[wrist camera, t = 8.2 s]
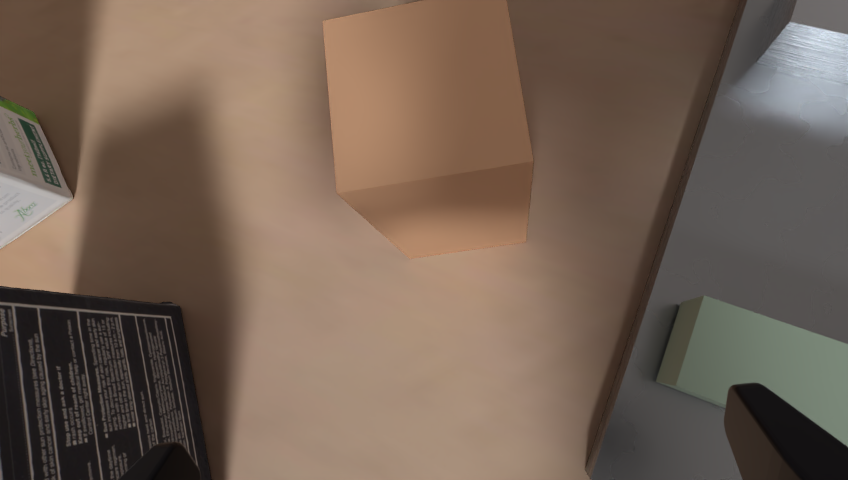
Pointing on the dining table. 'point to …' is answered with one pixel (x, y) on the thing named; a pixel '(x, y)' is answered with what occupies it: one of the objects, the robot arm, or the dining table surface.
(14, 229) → the syrup box
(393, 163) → the tan rectangular block
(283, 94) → the dining table surface
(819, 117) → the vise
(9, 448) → the small box
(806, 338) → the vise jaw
